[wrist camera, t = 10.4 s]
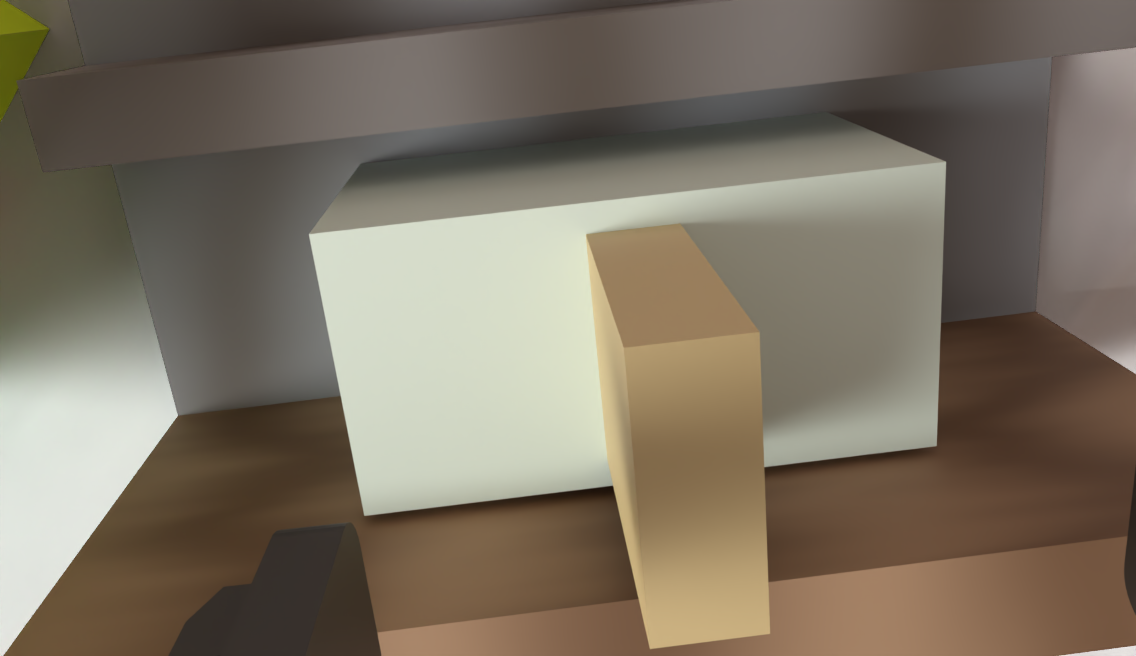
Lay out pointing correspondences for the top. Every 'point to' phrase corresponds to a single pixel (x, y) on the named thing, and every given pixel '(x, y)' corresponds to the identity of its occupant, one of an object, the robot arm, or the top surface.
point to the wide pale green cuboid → (639, 333)
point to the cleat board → (591, 516)
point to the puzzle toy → (16, 49)
